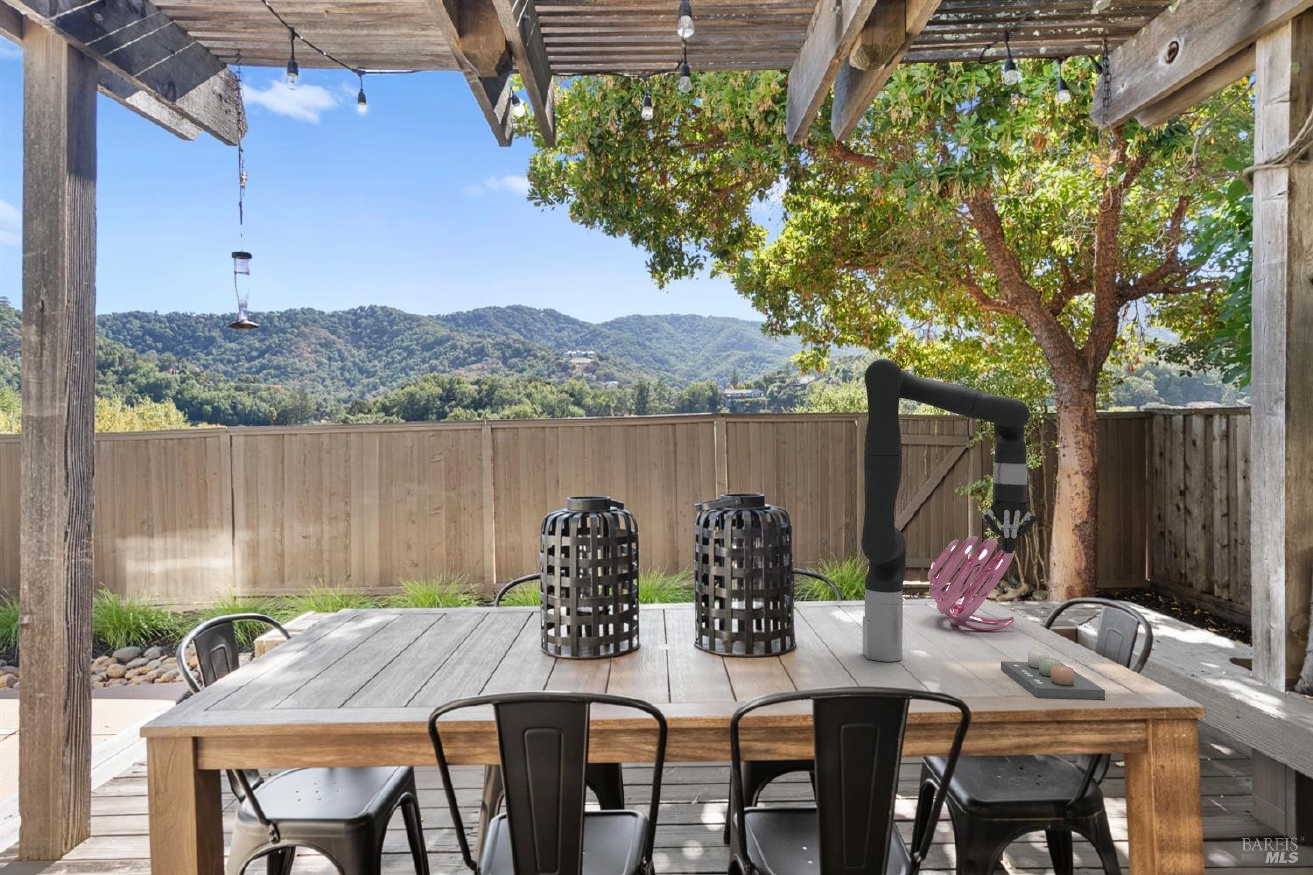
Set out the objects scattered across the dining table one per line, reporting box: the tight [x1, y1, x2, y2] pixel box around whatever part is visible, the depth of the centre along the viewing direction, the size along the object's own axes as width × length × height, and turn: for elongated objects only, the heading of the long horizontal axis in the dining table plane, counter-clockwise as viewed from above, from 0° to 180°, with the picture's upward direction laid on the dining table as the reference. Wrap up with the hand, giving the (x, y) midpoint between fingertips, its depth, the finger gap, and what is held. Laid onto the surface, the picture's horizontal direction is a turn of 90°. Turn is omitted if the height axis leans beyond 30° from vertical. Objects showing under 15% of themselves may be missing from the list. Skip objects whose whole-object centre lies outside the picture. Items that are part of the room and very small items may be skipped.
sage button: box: [1039, 657, 1062, 676], centre depth 171 cm, size 4×4×3 cm
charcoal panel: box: [1000, 660, 1106, 701], centre depth 171 cm, size 14×20×2 cm
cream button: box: [1027, 649, 1050, 668], centre depth 177 cm, size 4×4×3 cm
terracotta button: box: [1051, 665, 1075, 685], centre depth 165 cm, size 4×4×3 cm
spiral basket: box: [927, 535, 1016, 632], centre depth 225 cm, size 28×28×27 cm
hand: (1007, 552), depth 184 cm, fingers closed
